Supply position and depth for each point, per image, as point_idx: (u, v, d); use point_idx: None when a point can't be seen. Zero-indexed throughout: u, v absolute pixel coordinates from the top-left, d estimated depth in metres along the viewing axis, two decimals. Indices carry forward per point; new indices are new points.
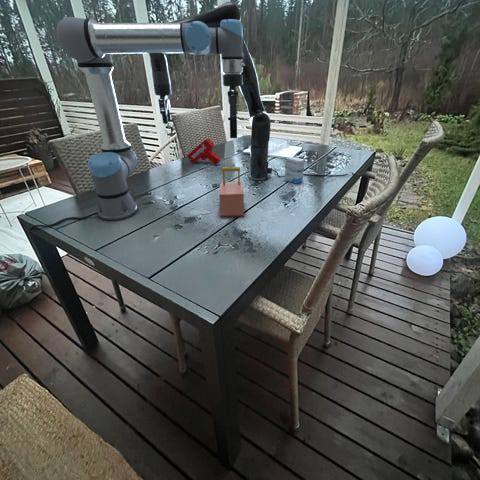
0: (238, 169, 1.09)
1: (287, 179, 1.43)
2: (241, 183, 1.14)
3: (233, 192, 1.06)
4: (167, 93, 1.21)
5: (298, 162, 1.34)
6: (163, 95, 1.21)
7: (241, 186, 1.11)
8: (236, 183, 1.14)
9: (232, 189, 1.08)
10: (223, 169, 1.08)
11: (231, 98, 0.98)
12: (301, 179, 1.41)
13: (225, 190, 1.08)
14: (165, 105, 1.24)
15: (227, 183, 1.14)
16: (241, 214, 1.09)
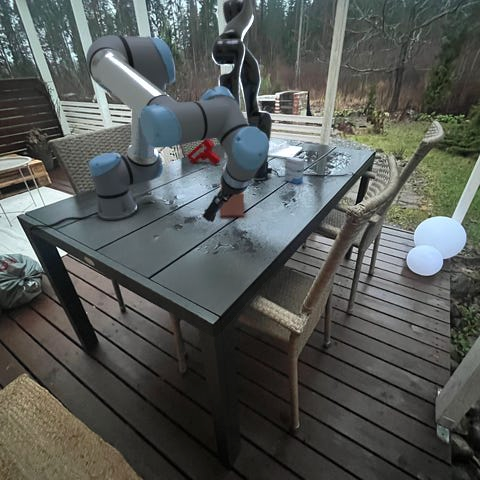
0: None
1: (287, 179, 1.43)
2: None
3: None
4: None
5: (298, 162, 1.34)
6: None
7: None
8: None
9: None
10: None
11: (213, 203, 0.73)
12: (301, 179, 1.41)
13: None
14: None
15: None
16: (241, 214, 1.09)
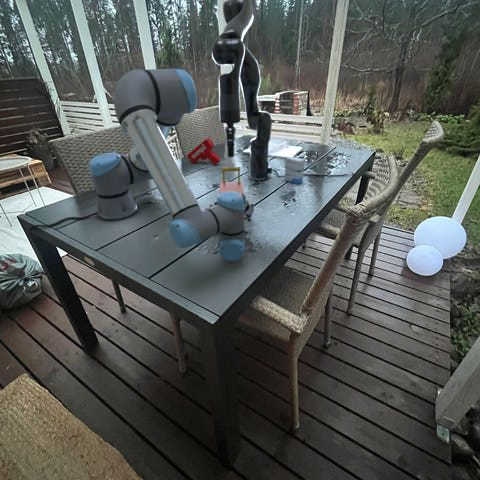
0: (238, 169, 1.09)
1: (287, 179, 1.43)
2: (241, 183, 1.14)
3: None
4: None
5: (298, 162, 1.34)
6: None
7: (241, 186, 1.11)
8: (236, 183, 1.14)
9: (232, 189, 1.08)
10: (223, 169, 1.08)
11: None
12: (301, 179, 1.41)
13: (225, 190, 1.08)
14: None
15: (227, 183, 1.14)
16: None
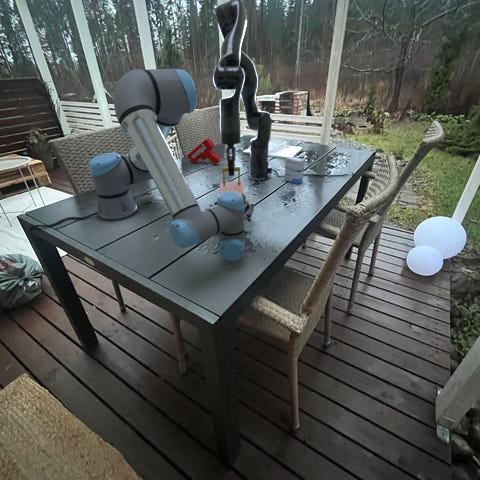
0: (238, 169, 1.09)
1: (287, 179, 1.43)
2: (241, 183, 1.14)
3: None
4: None
5: (298, 162, 1.34)
6: None
7: (241, 186, 1.11)
8: (236, 183, 1.14)
9: (232, 189, 1.08)
10: (223, 169, 1.08)
11: None
12: (301, 179, 1.41)
13: (225, 190, 1.08)
14: None
15: (227, 183, 1.14)
16: None
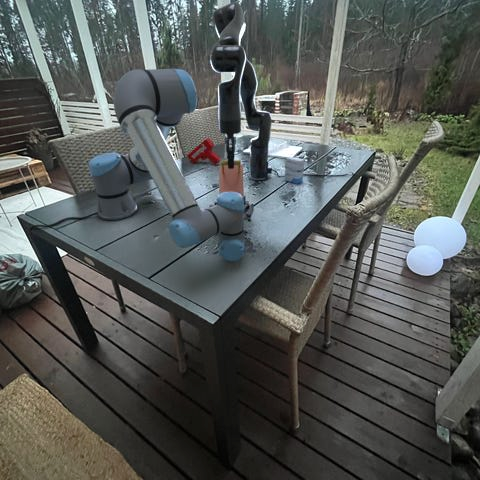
0: (238, 164, 1.00)
1: (287, 179, 1.43)
2: (241, 169, 1.07)
3: (233, 191, 1.05)
4: None
5: (298, 162, 1.34)
6: None
7: (241, 176, 1.06)
8: (236, 169, 1.07)
9: (232, 184, 1.05)
10: (222, 164, 1.00)
11: None
12: (301, 179, 1.41)
13: (224, 186, 1.05)
14: None
15: (226, 168, 1.07)
16: None
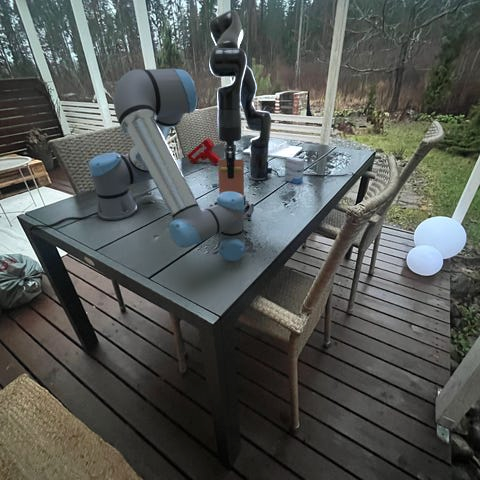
0: (239, 171, 0.95)
1: (287, 179, 1.43)
2: (242, 165, 1.01)
3: (233, 191, 1.04)
4: None
5: (298, 162, 1.34)
6: None
7: (242, 174, 1.02)
8: (236, 165, 1.01)
9: (232, 183, 1.03)
10: (222, 172, 0.95)
11: None
12: (301, 179, 1.41)
13: (224, 185, 1.03)
14: None
15: (226, 164, 1.01)
16: None
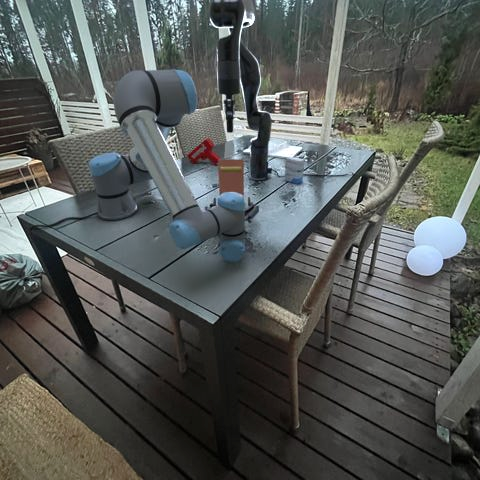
0: (239, 171, 0.95)
1: (287, 179, 1.43)
2: (242, 165, 1.01)
3: (233, 191, 1.04)
4: None
5: (298, 162, 1.34)
6: None
7: (242, 174, 1.02)
8: (236, 165, 1.01)
9: (232, 183, 1.03)
10: (222, 171, 0.95)
11: None
12: (301, 179, 1.41)
13: (224, 185, 1.03)
14: None
15: (226, 164, 1.01)
16: None
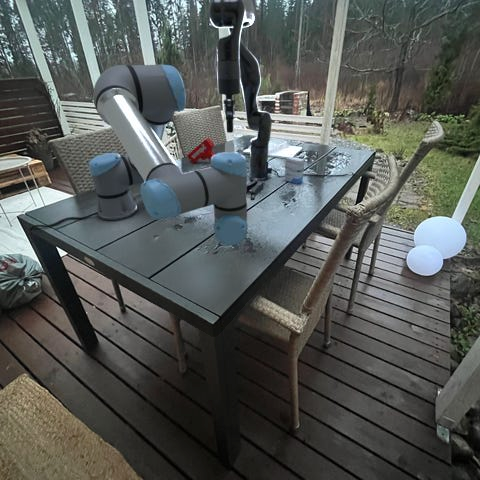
0: None
1: (287, 179, 1.43)
2: None
3: None
4: None
5: (298, 162, 1.34)
6: None
7: None
8: None
9: None
10: None
11: None
12: (301, 179, 1.41)
13: None
14: None
15: None
16: None
